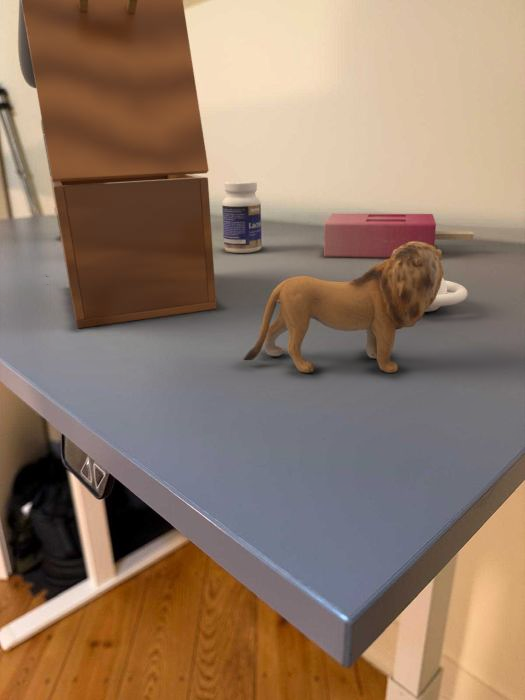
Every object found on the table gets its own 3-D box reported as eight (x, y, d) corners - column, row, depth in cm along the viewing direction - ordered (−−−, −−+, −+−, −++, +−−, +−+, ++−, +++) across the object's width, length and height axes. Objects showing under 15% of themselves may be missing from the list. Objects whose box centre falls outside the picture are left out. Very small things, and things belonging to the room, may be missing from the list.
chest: (69, 288, 64) (50, 176, 59) (181, 275, 68) (172, 169, 64) (77, 328, 50) (53, 186, 46) (216, 308, 55) (208, 177, 50)
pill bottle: (257, 254, 79) (255, 183, 75) (220, 253, 80) (215, 183, 76) (265, 246, 84) (263, 179, 80) (229, 246, 85) (226, 180, 81)
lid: (18, -18, 45) (10, -67, 39) (178, -9, 49) (191, -52, 44) (52, 182, 46) (49, 161, 41) (206, 173, 50) (222, 153, 45)
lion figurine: (422, 345, 44) (432, 234, 41) (446, 371, 39) (459, 248, 36) (242, 353, 43) (237, 242, 40) (244, 382, 38) (238, 257, 35)
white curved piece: (369, 314, 51) (456, 326, 48) (372, 254, 49) (463, 261, 46) (393, 295, 58) (471, 304, 54) (397, 242, 56) (478, 247, 52)
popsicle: (479, 223, 69) (324, 222, 74) (474, 260, 71) (323, 257, 76) (471, 213, 78) (332, 213, 82) (467, 246, 79) (331, 244, 84)
